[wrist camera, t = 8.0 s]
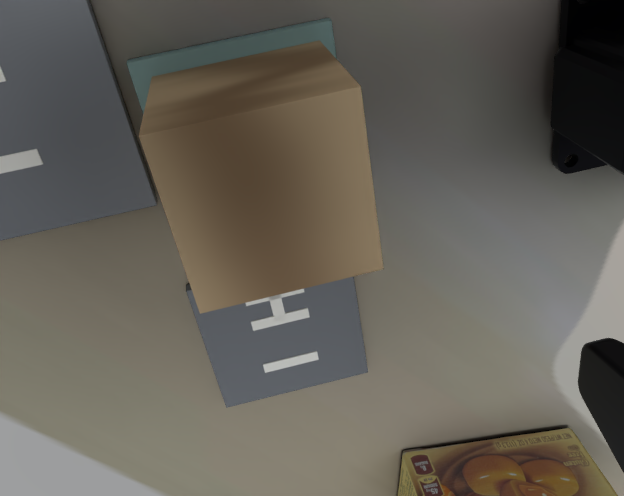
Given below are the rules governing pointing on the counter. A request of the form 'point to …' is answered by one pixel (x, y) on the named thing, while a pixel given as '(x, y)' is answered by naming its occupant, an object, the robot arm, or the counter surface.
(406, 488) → the candy box
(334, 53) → the rubber mat
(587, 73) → the robot arm
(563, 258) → the counter surface
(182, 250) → the oak block
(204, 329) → the code tile
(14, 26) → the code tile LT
